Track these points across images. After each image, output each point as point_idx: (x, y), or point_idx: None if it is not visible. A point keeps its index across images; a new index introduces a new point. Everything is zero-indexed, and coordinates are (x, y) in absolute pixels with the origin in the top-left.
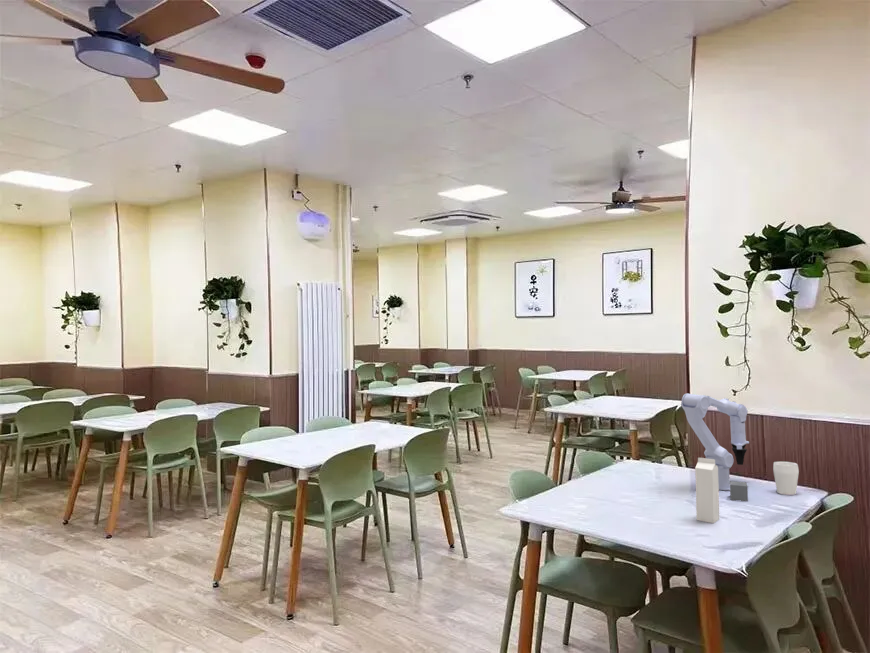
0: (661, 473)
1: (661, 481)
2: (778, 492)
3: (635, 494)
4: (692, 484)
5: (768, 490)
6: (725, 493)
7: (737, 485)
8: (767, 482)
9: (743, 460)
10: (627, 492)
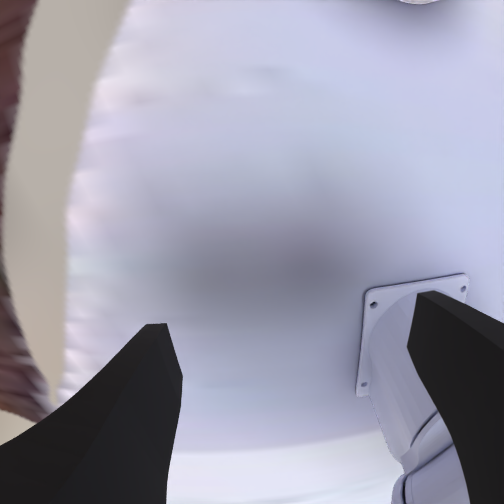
0: (211, 500)
1: (338, 487)
2: (430, 2)
3: None
4: (363, 428)
5: (386, 45)
6: (500, 289)
7: None
8: (126, 55)
9: (477, 312)
10: None
